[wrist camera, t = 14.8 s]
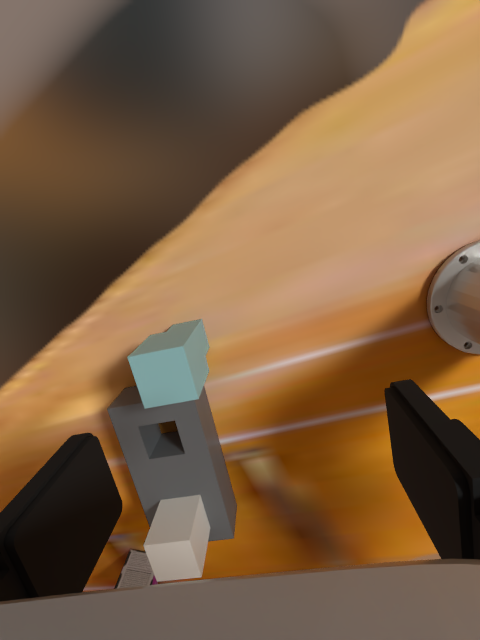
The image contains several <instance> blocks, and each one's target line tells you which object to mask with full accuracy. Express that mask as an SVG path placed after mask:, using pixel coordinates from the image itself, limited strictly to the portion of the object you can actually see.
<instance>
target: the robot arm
mask: <svg viewBox="0 0 480 640" xmlns="http://www.w3.org/2000/svg"><path fill="white" fill-rule="evenodd" d="M460 257H461V259H460V261H459V258H460ZM436 306H437V307H436ZM435 307H436V309H435ZM427 313H428V317H429V321H430V323H431V325H432V327H433V329H434V330H435V332H436V333H437V334H438V335H439V337H440V338H441V339H443V340H444V341H445V342H447V343H448V344H449V345H451V346H453V347H455V348H456V349H458V350H461V351H463V352H466V353H472V354H480V240H478V241H475V242H473V243H470V244H468V245H466V246H464V247H463V248H461V249H459V250H458V251H456V252H455V253H454V254H453V255H451V256H450V257H449V258H448V259H447V260H446V261H445V262H444V263H443V265H442V266H441V267H440V268H439V269H438V271H437V273H436V274H435V276H434V278H433V280H432V282H431V285H430V288H429V291H428V297H427ZM385 400H386V408H387V416H388V424H389V432H390V440H391V448H392V456H393V463H394V468H395V471H396V474H397V476H398V478H399V480H400V482H401V484H402V486H403V488H404V490H405V492H406V493H407V495H408V497H409V499H410V501H411V503H412V505H413V506H414V508H415V510H416V512H417V514H418V516H419V518H420V520H421V521H422V523H423V525H424V527H425V529H426V531H427V533H428V535H429V536H430V538H431V540H432V542H433V544H434V546H435V548H436V549H437V551H438V553H439V555H440V557H441V559H435V560H417V561H398V562H384V563H374V564H364V565H351V566H339V567H328V568H318V569H307V570H297V571H287V572H276V573H266V574H255V575H245V576H235V577H225V578H215V579H205V580H195V581H185V582H176V583H166V584H156V585H147V586H137V587H127V588H118V589H109V590H100V591H90V592H82V591H83V589H84V587H85V585H86V583H87V581H88V579H89V577H90V575H91V573H92V571H93V569H94V567H95V565H96V563H97V561H98V559H99V557H100V555H101V553H102V551H103V549H104V547H105V545H106V543H107V541H108V539H109V537H110V535H111V533H112V531H113V529H114V527H115V525H116V523H117V521H118V519H119V517H120V515H121V512H122V500H121V497H120V495H119V492H118V489H117V487H116V484H115V482H114V479H113V476H112V474H111V471H110V468H109V466H108V463H107V460H106V458H105V455H104V453H103V450H102V447H101V445H100V442H99V440H98V438H97V437H96V436H93V435H92V434H91V433H84V434H78V435H73V436H71V437H70V438H69V439H68V440H67V441H66V442H65V443H64V444H63V445H62V446H61V447H60V448H59V450H58V451H57V452H56V453H55V454H54V455H53V456H52V457H51V458H50V459H49V460H48V462H47V463H46V464H45V465H44V466H43V467H42V468H41V469H40V470H39V471H38V472H37V474H36V475H35V476H34V477H33V478H32V479H31V480H30V481H29V482H28V483H27V484H26V486H25V487H24V488H23V489H22V490H21V491H20V492H19V493H18V494H17V495H16V496H15V498H14V499H13V500H12V501H11V502H10V503H9V504H8V505H7V506H6V507H5V508H4V510H3V511H2V512H1V513H0V640H480V440H479V439H478V438H477V437H476V436H475V435H474V434H473V433H472V432H471V431H470V430H469V429H468V428H467V427H466V426H465V425H464V424H463V423H462V422H461V421H459V420H457V419H451V420H450V419H449V418H448V417H447V416H446V415H445V413H444V412H443V411H442V410H441V409H440V408H439V407H438V406H437V405H436V404H435V403H434V402H433V401H432V400H431V399H430V398H429V397H428V396H427V395H426V394H425V393H424V392H423V391H422V390H421V389H420V388H419V387H418V386H417V385H416V383H415V382H414V381H413V380H411V379H409V380H403V381H397V382H391V384H390V388H385Z"/></svg>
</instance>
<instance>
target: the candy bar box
mask: <svg viewBox="0 0 480 640" xmlns="http://www.w3.org/2000/svg"><path fill="white" fill-rule="evenodd" d="M157 583H158V582H157V581H156V578H155V575H154V573H153V570H152V567H151V565H150V562H149V559H148V557H147V554H146V552H143V551H138V550H130V551H129V554H128V556H127V559H126V561H125V564H124V566H123V568H122V571H121V573H120V576H119V578H118V581H117V583H116V586H115V588H114V589H118V588H127V587H137V586H147V585H156V584H157Z"/></svg>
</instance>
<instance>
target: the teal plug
mask: <svg viewBox="0 0 480 640" xmlns="http://www.w3.org/2000/svg"><path fill="white" fill-rule="evenodd" d="M208 349H209V344H208V340H207V336H206V333H205V329H204V325H203V322H202V319H199V320H194V321H189V322H184V323H180V324H175V325H172V326H171V327H170V328H169V329H168V331H167V332H163V333H158V334H153V335H150V336H149V337H148V338H147V339H146V340H145V341H144V342H143V343H142V344H140V345H139V346H138V347H137V348H136V349H135V350H134V351H133V352H132V353H131V354H130V355H129V356H128V357H127V358H128V361H129V364H130V367H131V370H132V373H133V376H134V378H135V381H136V384H137V387H138V390H139V393H140V396H141V399H142V402H143V405H144V408H145V409H146V408H151V407H157V406H163V405H168V404H174V403H180V402H185V401H191V400H197V399H199V397H200V394H201V391H202V389H203V386H204V383H205V381H206V378H207V375H208V373H209V368H208V364H207V360H206V357H205V356H206V354H207V352H208Z"/></svg>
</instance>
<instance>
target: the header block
mask: <svg viewBox="0 0 480 640" xmlns="http://www.w3.org/2000/svg"><path fill="white" fill-rule="evenodd" d="M107 410H108V413H109V415H110V418H111V421H112V424H113V427H114V429H115V432H116V435H117V438H118V440H119V443H120V446H121V449H122V451H123V454H124V457H125V460H126V462H127V465H128V468H129V471H130V473H131V476H132V479H133V482H134V485H135V487H136V490H137V493H138V496H139V498H140V501H141V504H142V507H143V509H144V512H145V515H146V518H147V520H148V523H149V526H150V529H149V532H148V535H147V537H146V540H145V543H144V545H143V546H144V549H145V551H146V554H147V557H148V559H149V562H150V565H151V567H152V570H153V573H154V575H155V578H156V581H157V582H160V581H170V580H179V579H189V578H199V577H202V573H203V567H204V561H205V556H206V550H207V544H208V541H215V540H224V539H232V538H234V531H235V521H236V510H237V504H236V501H235V497H234V493H233V490H232V486H231V482H230V479H229V475H228V471H227V468H226V464H225V461H224V457H223V453H222V450H221V446H220V442H219V439H218V435H217V431H216V428H215V424H214V420H213V417H212V413H211V410H210V406H209V402H208V399H207V395H206V391H205V388H204V386H203V389H202V391H201V394H200V397H199V399H197V400H191V401H185V402H180V403H174V404H168V405H163V406H157V407H151V408H146V409H145V408H144V405H143V402H142V399H141V396H140V393H139V390H138V387H137V386H134V387H128V388H125V389H124V390H123V391H122V392H121V393H120V394H119V396H118V397H117V398H116V399H115V400H114V401H113V403H112V404H111V405H110V406H109V407H108V408H107ZM169 421H175V422H176V426H177V429H178V431H176V432H169V433H163V434H162V433H161V430H160V427H159V424H158V423H163V422H169Z"/></svg>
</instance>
